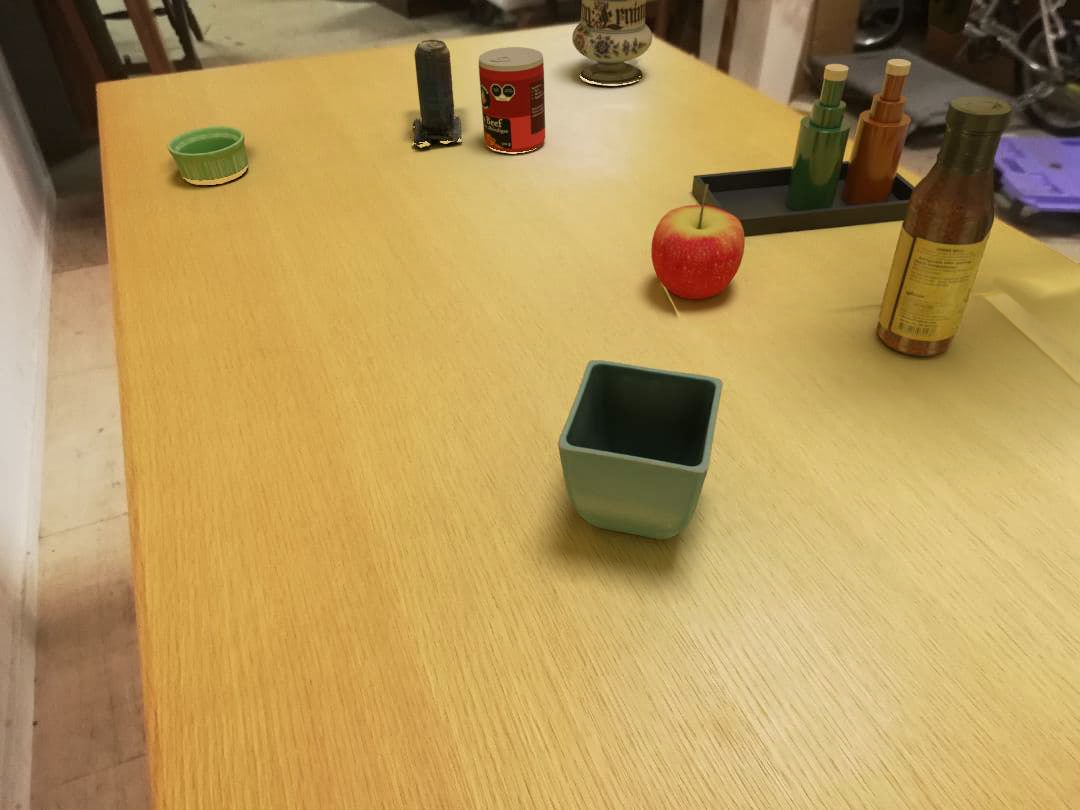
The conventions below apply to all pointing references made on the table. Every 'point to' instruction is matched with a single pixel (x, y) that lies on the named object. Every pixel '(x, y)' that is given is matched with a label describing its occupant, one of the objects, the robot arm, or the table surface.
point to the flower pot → (639, 447)
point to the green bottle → (820, 146)
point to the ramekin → (209, 152)
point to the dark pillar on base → (435, 94)
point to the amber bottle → (879, 141)
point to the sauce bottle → (944, 232)
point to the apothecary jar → (612, 39)
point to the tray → (766, 212)
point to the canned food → (512, 98)
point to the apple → (697, 250)
